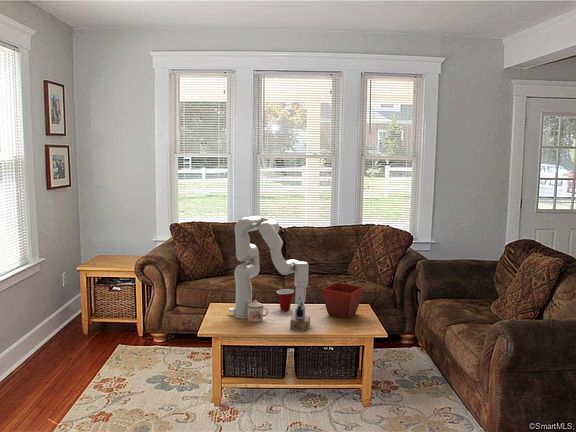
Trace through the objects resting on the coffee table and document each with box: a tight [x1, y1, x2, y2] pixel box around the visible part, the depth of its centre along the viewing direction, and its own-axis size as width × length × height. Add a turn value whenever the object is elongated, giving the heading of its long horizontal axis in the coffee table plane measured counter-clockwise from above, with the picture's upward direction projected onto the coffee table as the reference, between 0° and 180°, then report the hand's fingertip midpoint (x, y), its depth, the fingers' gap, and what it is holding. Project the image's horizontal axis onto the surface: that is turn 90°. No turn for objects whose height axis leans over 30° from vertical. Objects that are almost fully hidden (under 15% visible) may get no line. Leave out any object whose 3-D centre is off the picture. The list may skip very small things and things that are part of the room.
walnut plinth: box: [289, 314, 311, 331], centre depth 304 cm, size 10×10×5 cm
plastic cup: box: [276, 288, 294, 311], centre depth 337 cm, size 11×11×12 cm
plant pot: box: [321, 282, 364, 319], centre depth 328 cm, size 19×19×17 cm
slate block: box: [294, 305, 306, 319], centre depth 303 cm, size 5×5×6 cm
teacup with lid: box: [247, 299, 269, 323], centre depth 314 cm, size 12×9×12 cm
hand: (300, 314), depth 303 cm, fingers open, 5 cm apart
